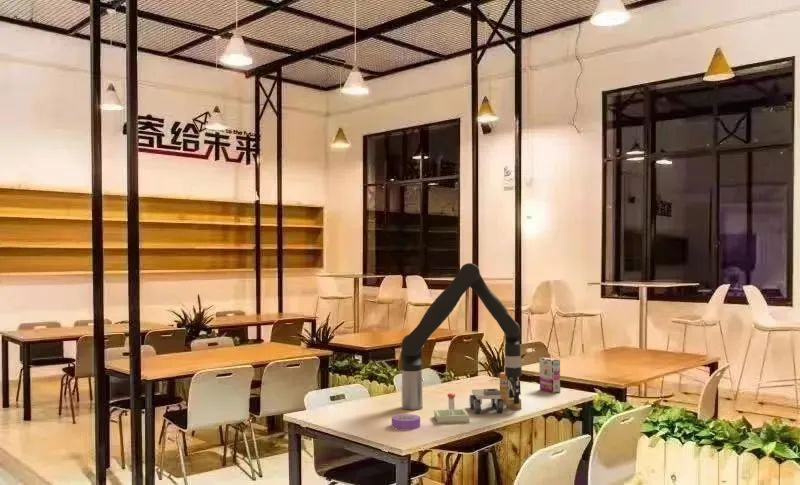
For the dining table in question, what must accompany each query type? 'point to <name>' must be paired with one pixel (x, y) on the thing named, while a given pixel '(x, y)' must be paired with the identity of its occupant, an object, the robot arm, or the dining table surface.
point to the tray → (451, 416)
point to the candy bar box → (549, 374)
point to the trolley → (486, 394)
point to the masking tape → (406, 421)
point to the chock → (512, 404)
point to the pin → (451, 403)
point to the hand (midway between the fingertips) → (514, 401)
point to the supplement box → (504, 386)
